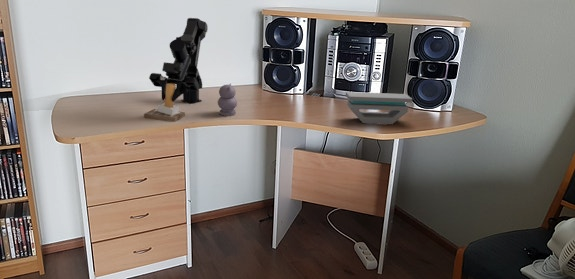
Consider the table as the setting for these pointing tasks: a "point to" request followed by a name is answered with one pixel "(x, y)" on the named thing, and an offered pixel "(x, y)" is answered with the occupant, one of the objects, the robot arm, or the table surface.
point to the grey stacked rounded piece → (227, 100)
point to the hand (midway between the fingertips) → (167, 100)
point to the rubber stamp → (169, 101)
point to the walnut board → (163, 115)
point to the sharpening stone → (378, 106)
